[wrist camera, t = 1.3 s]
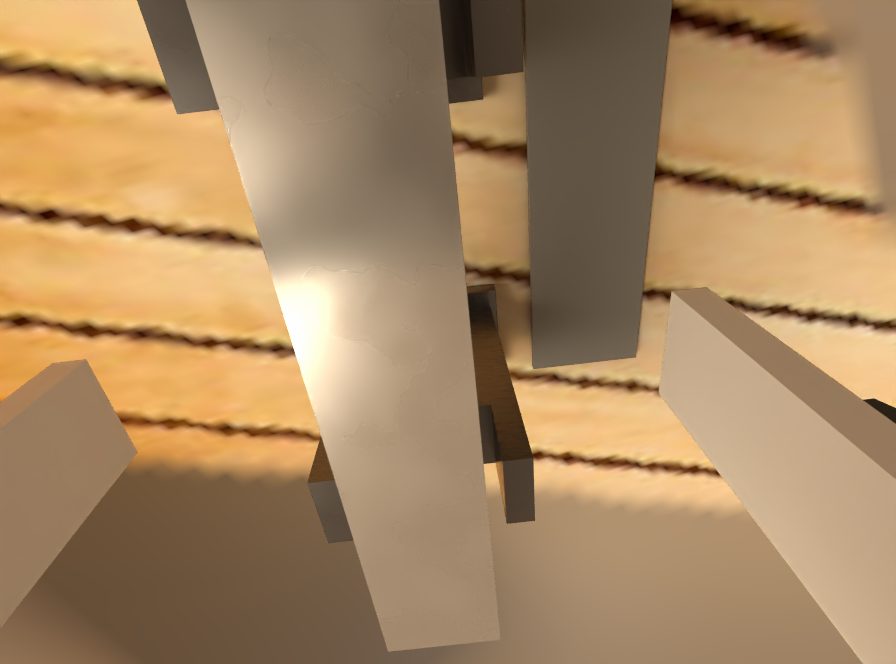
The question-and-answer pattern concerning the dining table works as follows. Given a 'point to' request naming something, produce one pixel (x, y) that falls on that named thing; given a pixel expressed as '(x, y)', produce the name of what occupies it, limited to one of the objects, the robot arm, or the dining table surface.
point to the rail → (369, 282)
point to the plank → (591, 170)
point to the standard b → (497, 428)
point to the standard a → (463, 31)
